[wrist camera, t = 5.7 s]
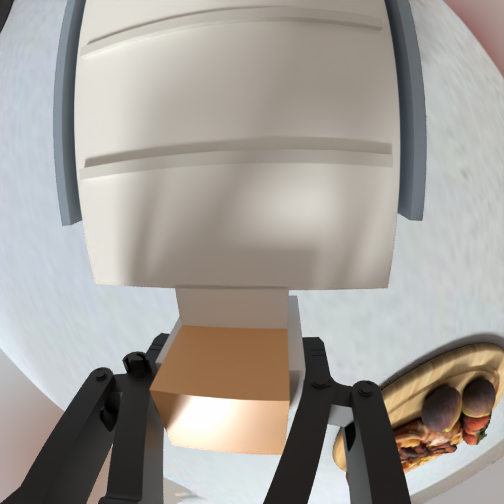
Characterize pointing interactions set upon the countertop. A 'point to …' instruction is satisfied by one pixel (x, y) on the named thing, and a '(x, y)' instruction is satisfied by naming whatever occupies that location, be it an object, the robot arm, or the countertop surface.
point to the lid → (236, 184)
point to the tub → (408, 92)
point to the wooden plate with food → (441, 404)
